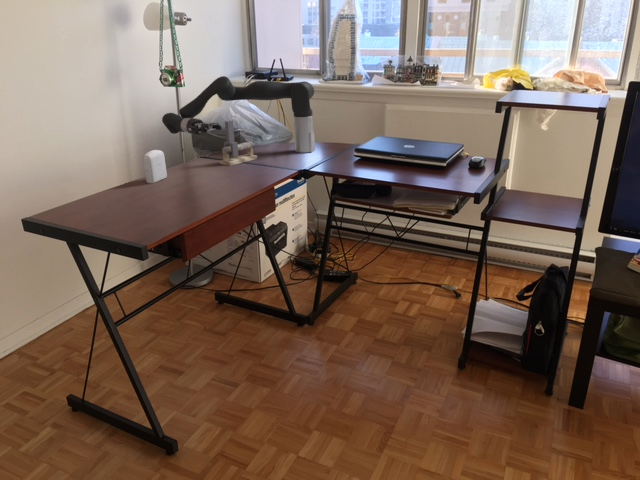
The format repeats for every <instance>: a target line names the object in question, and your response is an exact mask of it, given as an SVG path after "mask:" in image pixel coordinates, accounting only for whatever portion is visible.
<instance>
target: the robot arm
mask: <svg viewBox="0 0 640 480" xmlns="http://www.w3.org/2000/svg"><path fill="white" fill-rule="evenodd" d="M314 94H315V88H314V86H313V84H311V83H310V82H308V81H298V82H281V81H269V80H255V81H253V82H251V83H249V84H248V85H246V86H234V85H233V83H232V82H231V80H230V78H228V77H227V76H225V75H224V76H219V77H217V78H216V79H213V81H212V82H211V83H210V84H209V85H208V86H206V88H205V89H204V90H202V92H200V94H199V95H198V96H196V97H195V98H194V99H193V100H191V101H190V102H188V103H186V104H185V105H184V106H182V107H181V108H180V109H178V112H179V115H178V114H177V113H174V112H168V113H165V114H163V116H162V119H161V120H162V121H161V122H162V124H163V125H164V126H165V128H166V129H167V130H168V132H170V133H171V134H174V135H175V134H178V133H180V132H181V133H186V134H189V135H194V136H195V135H197V136H199V135H201V134H202V133H204V134H207V133H208V132H211V131H213V130H215V131H221V130H222V125H221V124H219V122H217V123H216V122H204V121H203V120H202V119H200V118H195V117H197V116H198V115H199V114H201V113H202V111H203V110H204V108H205V107H206V105H207V103H208V102H209V100H211V99H212V97H214V96H216V95H217V96H218V98H219V99H220V100H221V101H224V102H225V101H226V102H230V101H231V102H232V101H239V100H240V101H243V100H244V101H248V100H249V101H253V100H254V101H275V100H276V101H277V100H283V99H291V110H292V112H293V113H292V114H293V128H294V129H293V131H294V150H295V153H300V154H301V153H312V152H314V151H315V150H316V148H315V147H316V144H315V142H316V141H315V131H314V122H313V121H314V119H313V118H314V117H313V110H312V108H311V104H310V101H311V99H312V98H313V96H314Z"/></svg>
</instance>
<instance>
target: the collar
mask: <svg viewBox="0 0 640 480" xmlns="http://www.w3.org/2000/svg"><path fill="white" fill-rule="evenodd" d="M224 125H225V126H224V127H225V137H226V138H225V139H226V141H224V142H223V147H227V146H231V149H232V152H229V157H236V156H240V155H239V150H238V144H239V143H238V142H237V141H235V140H236V139H235V131H234V120H225V121H224Z"/></svg>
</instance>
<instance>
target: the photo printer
mask: <svg viewBox="0 0 640 480" xmlns="http://www.w3.org/2000/svg"><path fill="white" fill-rule="evenodd" d="M142 159H143V166H144V174H145V181H146V183H147V184H155V183H158V182H159V181H162V180H164V179H166V178H167V177H168V173H167V166H166V161H165V160H166V158H165V154H164V152H163V151H162V150H159V149H153V150H149V151H148V152H146V153H145V154H144V156H143V158H142Z"/></svg>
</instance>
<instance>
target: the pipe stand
mask: <svg viewBox="0 0 640 480" xmlns="http://www.w3.org/2000/svg"><path fill="white" fill-rule="evenodd" d="M253 146H254V143H253V141H247V142H242V143H238V151H242V150H245V149H246V150H247V151H246V152H247V153H245V154H242V155H241V154H240V155H239V156H234V157H233V156H231V157H230V156H229V152H232V149H231V146H227V147H224V146H223V147H222V148H221V151H222V159H221V160H219V164H221V165H223V166H224V165H225V166H234V165H238V164H242V163H246V162H249V161H254V160H257V159H258V155H256V154H254V147H253Z"/></svg>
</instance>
